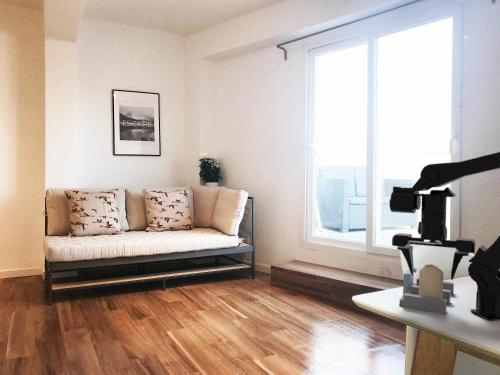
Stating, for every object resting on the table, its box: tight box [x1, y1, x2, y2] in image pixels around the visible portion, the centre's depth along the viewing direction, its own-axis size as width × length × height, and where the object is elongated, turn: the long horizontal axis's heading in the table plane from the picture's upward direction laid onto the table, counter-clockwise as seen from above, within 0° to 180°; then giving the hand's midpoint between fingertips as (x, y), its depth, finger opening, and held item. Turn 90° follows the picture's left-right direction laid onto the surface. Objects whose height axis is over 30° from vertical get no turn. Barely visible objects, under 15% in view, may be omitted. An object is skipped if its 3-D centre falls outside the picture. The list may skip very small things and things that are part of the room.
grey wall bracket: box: [399, 267, 455, 315], centre depth 113 cm, size 22×12×6 cm, turn 150°
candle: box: [418, 264, 444, 299], centre depth 107 cm, size 6×6×10 cm
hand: (431, 276), depth 107 cm, fingers open, 9 cm apart
